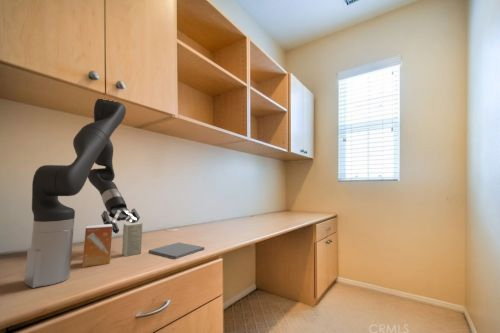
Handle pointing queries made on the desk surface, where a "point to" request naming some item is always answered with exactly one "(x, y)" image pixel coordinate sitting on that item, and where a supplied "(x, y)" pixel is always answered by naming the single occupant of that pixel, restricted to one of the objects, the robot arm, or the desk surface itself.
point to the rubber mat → (176, 250)
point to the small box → (97, 245)
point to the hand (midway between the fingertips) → (127, 230)
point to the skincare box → (132, 239)
